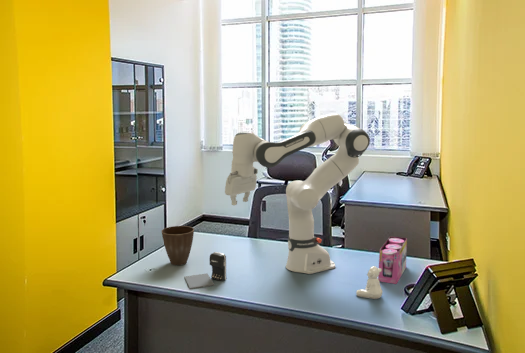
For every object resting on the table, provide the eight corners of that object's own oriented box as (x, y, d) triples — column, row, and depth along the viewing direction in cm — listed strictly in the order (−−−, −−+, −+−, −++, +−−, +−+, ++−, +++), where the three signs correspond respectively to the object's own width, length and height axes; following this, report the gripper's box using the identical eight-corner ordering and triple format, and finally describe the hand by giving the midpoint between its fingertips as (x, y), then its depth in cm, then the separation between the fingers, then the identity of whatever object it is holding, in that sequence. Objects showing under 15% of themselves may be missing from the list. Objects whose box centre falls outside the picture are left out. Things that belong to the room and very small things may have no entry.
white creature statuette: (371, 289, 173) (371, 260, 171) (389, 296, 166) (390, 266, 164) (355, 295, 167) (355, 265, 165) (372, 303, 160) (373, 271, 158)
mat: (207, 274, 190) (207, 273, 190) (214, 285, 178) (214, 284, 178) (184, 277, 187) (184, 276, 187) (190, 289, 175) (190, 287, 175)
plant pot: (198, 257, 213) (197, 225, 210) (190, 268, 198) (189, 234, 195) (168, 257, 214) (167, 225, 212) (158, 267, 199) (157, 234, 197)
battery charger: (208, 279, 185) (207, 253, 184) (214, 276, 188) (213, 250, 187) (221, 282, 181) (220, 256, 180) (227, 279, 184) (226, 253, 183)
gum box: (396, 285, 176) (397, 253, 174) (376, 282, 179) (377, 250, 177) (406, 266, 197) (407, 237, 195) (388, 264, 200) (389, 235, 198)
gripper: (235, 173, 170) (233, 208, 172) (259, 169, 188) (257, 200, 190) (222, 171, 172) (220, 206, 174) (246, 167, 191) (244, 198, 193)
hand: (239, 203), depth 182 cm, fingers open, 8 cm apart
